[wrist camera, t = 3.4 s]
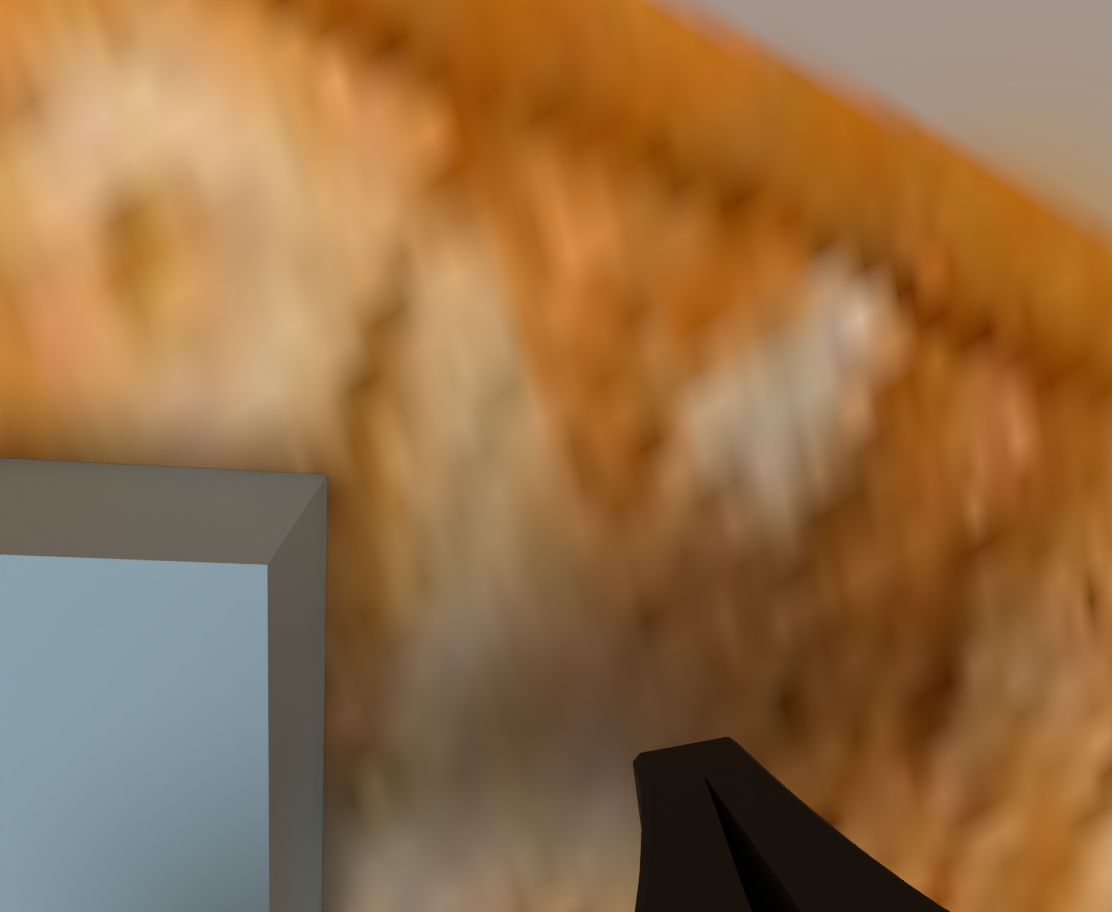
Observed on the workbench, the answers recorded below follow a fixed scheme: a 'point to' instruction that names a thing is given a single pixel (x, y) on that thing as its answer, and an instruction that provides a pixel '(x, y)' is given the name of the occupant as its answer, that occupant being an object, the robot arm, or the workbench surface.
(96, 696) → the book box
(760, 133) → the workbench surface
